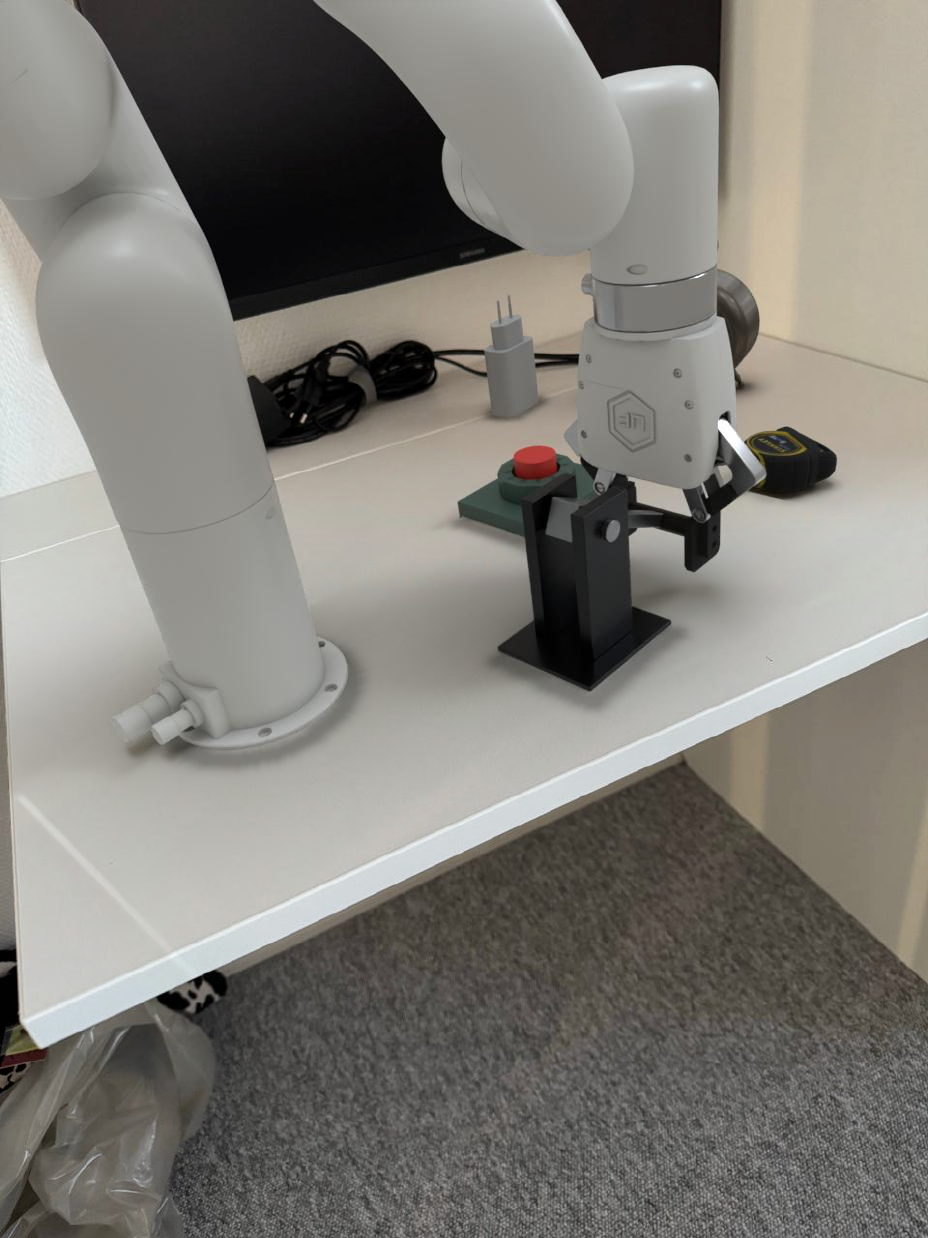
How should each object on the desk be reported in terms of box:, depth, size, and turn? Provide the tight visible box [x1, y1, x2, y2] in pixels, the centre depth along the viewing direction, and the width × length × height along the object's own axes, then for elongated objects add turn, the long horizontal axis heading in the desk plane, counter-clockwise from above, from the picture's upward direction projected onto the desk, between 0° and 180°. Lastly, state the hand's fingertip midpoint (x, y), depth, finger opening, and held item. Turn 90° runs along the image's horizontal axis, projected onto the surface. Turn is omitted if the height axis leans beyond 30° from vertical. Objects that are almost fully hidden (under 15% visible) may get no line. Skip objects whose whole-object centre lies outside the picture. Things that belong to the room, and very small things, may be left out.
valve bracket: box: [497, 473, 672, 692], centre depth 62 cm, size 9×8×12 cm
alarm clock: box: [717, 238, 761, 389], centre depth 97 cm, size 11×5×16 cm, turn 58°
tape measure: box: [743, 426, 838, 493], centre depth 80 cm, size 7×7×4 cm
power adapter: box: [483, 294, 539, 419], centre depth 100 cm, size 3×5×12 cm, turn 140°
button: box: [512, 445, 557, 480], centre depth 80 cm, size 4×4×2 cm
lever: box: [545, 497, 691, 543], centre depth 63 cm, size 12×5×2 cm, turn 136°
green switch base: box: [457, 453, 599, 538], centre depth 82 cm, size 11×9×4 cm
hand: (660, 548), depth 68 cm, fingers open, 6 cm apart
